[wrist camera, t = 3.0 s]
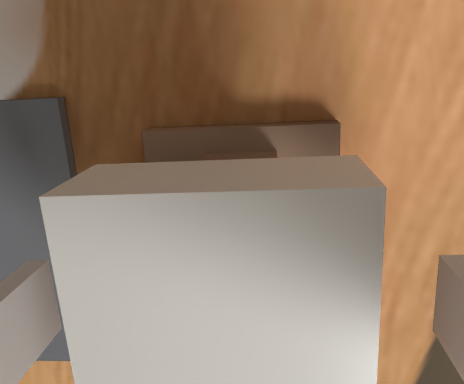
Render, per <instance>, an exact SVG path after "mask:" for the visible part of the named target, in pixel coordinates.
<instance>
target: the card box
mask: <svg viewBox="0 0 464 384" xmlns="http://www.w3.org/2000/svg"><path fill="white" fill-rule="evenodd" d="M39 200H40V206H41V211H42V216H43V221H44V226H45V232H46V237H47V242H48V247H49V252H50V257H51V263H52V268H53V273H54V278H55V283H56V289H57V294H58V299H59V304H60V309H61V315H62V320H63V325H64V330H65V335H66V341H67V346H68V351H69V356H70V361H71V367H72V372H73V377H74V382H75V384H377V369H378V348H379V328H380V307H381V287H382V266H383V246H384V225H385V205H386V186H385V185H384V184H383V183H382V182H381V181H380V180H379V179H378V178H377V177H376V175H375V174H374V173H373V172H372V171H371V170H370V169H369V168H368V167H367V166H366V165H365V164H364V163H363V162H362V160H361V159H360V158H359V157H358V156H357V155H344V156H316V157H288V158H260V159H232V160H205V161H177V162H149V163H121V164H95V165H94V166H92V167H90V168H88V169H87V170H85V171H83V172H82V173H80V174H78V175H76V176H75V177H73V178H71V179H69V180H68V181H66V182H64V183H62V184H61V185H59V186H57V187H55V188H54V189H52V190H50V191H48V192H47V193H45V194H43V195H41V196H40V197H39Z"/></svg>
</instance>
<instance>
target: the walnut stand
mask: <svg viewBox="0 0 464 384" xmlns="http://www.w3.org/2000/svg"><path fill="white" fill-rule="evenodd" d="M142 141H143V150H144V158H145V163H149V162H177V161H205V160H232V159H260V158H288V157H316V156H340V123H339V122H338V121H337V120H327V121H304V122H282V123H259V124H236V125H214V126H191V127H168V128H148V129H146V130H144V131H142Z"/></svg>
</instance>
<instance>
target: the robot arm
mask: <svg viewBox="0 0 464 384" xmlns="http://www.w3.org/2000/svg"><path fill="white" fill-rule="evenodd" d="M61 328H62V326H61V321H60V316H59V311H58V306H57V301H56V296H55V290H54V285H53V280H52V275H51V270H50V265H49V260H27V261H26V262H25V263H24V264H22V265H21V266H20V267H19V268H17V269H16V270H15V271H14V272H13V273H11V274H10V275H9V276H8V277H6V278H5V279H4V280H3V281H1V282H0V384H18V383H19V381H20V380H21V379H22V378H23V376H24V375H25V374H26V373H27V371H28V370H29V369H30V368H31V366H32V365H33V364H34V362H35V361H36V360H37V359H38V357H39V356H40V355H41V354H42V352H43V351H44V350H45V349H46V347H47V346H48V345H49V344H50V342H51V341H52V340H53V339H54V337H55V336H56V335H57V333H58V332H59V331H60V330H61ZM433 331H434V333H435V335H436V336H437V338H438V340H439V341H440V343H441V345H442V346H443V348H444V349H445V351H446V353H447V355H448V356H449V358H450V359H451V361H452V363H453V364H454V366H455V368H456V369H457V371H458V373H459V374H460V376H461V377H462V379H463V381H464V255H439V264H438V275H437V286H436V297H435V308H434V319H433Z"/></svg>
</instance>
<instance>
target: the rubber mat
mask: <svg viewBox="0 0 464 384" xmlns="http://www.w3.org/2000/svg"><path fill="white" fill-rule="evenodd" d="M76 175H77V174H76V168H75V162H74V156H73V150H72V144H71V138H70V132H69V125H68V119H67V113H66V107H65V101H64V97H57V98H38V99H19V100H0V282H1V281H3V280H4V279H5V278H6V277H8V276H9V275H10V274H11V273H13V272H14V271H15V270H16V269H17V268H19V267H20V266H21V265H22V264H24V263H25V262H26V261H27V260H49V265H50V270H51V275H52V280H53V285H54V290H55V296H56V301H57V306H58V311H59V316H60V321H61V326H62V328H61V330H60V331H59V332H58V333H57V335H56V336H55V337H54V339H53V340H52V341H51V342H50V344H49V345H48V346H47V347H46V349H45V350H44V351H43V352H42V354H41V355H40V356H39V357H38V359H37V360H36V361H70V356H69V351H68V346H67V341H66V335H65V330H64V325H63V320H62V315H61V309H60V304H59V299H58V294H57V289H56V283H55V278H54V273H53V268H52V263H51V257H50V252H49V247H48V242H47V237H46V232H45V226H44V221H43V216H42V211H41V206H40V200H39V197H40V196H41V195H43V194H45V193H47V192H48V191H50V190H52V189H54V188H55V187H57V186H59V185H61V184H62V183H64V182H66V181H68V180H69V179H71V178H73V177H75V176H76Z"/></svg>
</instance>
